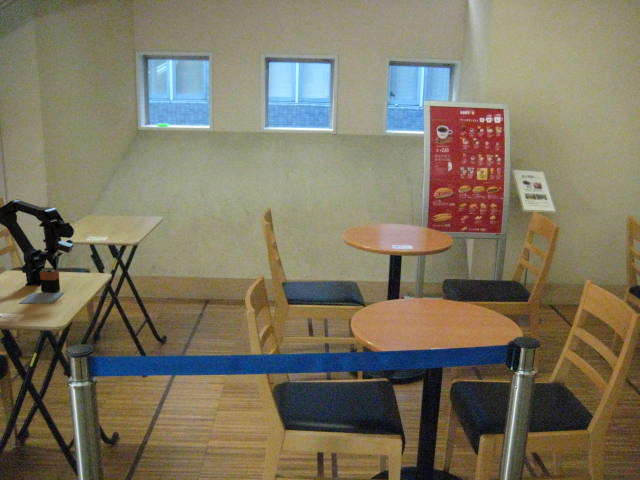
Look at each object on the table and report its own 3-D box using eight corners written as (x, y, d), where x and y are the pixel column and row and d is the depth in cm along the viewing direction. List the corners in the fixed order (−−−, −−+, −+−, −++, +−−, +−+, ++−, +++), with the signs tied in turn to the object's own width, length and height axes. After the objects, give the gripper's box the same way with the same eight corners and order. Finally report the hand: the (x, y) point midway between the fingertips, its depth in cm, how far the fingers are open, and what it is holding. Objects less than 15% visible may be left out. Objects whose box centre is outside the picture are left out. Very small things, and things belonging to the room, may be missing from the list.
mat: (19, 303, 244) (19, 302, 244) (32, 293, 256) (32, 293, 256) (53, 303, 245) (52, 302, 245) (64, 293, 256) (64, 292, 256)
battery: (47, 289, 261) (45, 267, 260) (60, 290, 260) (59, 268, 258) (40, 291, 257) (39, 269, 256) (53, 293, 256) (52, 270, 254)
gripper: (61, 241, 251) (65, 275, 255) (77, 231, 269) (81, 263, 273) (35, 241, 251) (39, 275, 255) (53, 231, 269) (57, 263, 273)
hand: (55, 269), depth 264 cm, fingers closed
